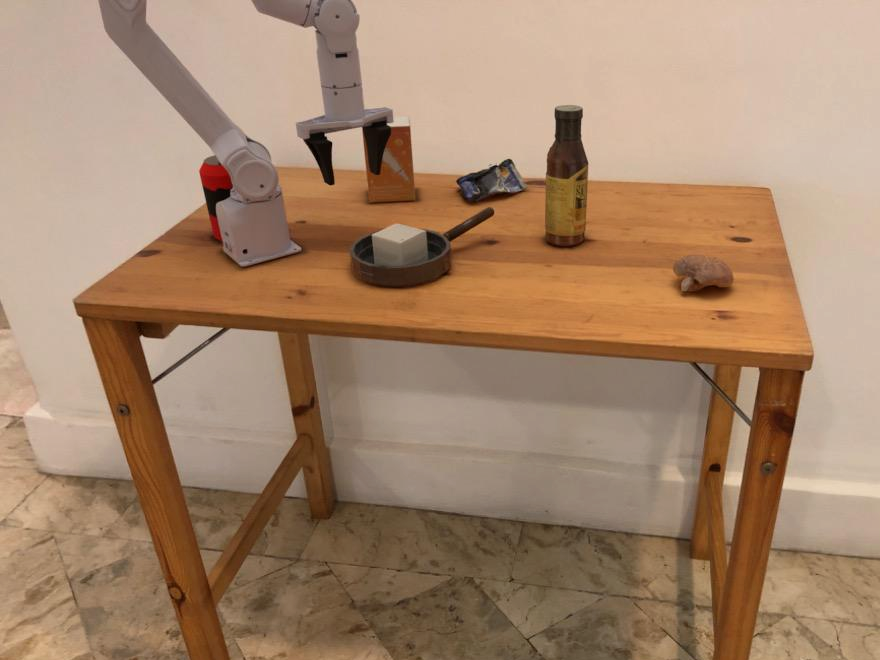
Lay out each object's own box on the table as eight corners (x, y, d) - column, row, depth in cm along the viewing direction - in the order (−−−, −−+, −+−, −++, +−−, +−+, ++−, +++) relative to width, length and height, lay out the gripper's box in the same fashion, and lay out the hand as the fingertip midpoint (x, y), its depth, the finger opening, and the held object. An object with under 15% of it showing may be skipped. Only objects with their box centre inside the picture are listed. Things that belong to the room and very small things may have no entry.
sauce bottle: (582, 249, 119) (588, 114, 108) (541, 246, 120) (543, 112, 109) (587, 233, 124) (593, 103, 114) (548, 230, 125) (550, 101, 115)
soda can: (216, 246, 121) (198, 169, 115) (212, 229, 127) (195, 155, 121) (266, 239, 124) (252, 163, 117) (260, 222, 130) (246, 149, 123)
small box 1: (369, 203, 136) (360, 127, 129) (369, 191, 142) (361, 117, 135) (416, 201, 137) (410, 125, 130) (415, 189, 143) (409, 115, 136)
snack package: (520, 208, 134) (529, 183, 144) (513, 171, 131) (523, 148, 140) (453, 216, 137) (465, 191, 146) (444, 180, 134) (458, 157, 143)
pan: (383, 298, 106) (381, 276, 104) (335, 263, 116) (332, 243, 114) (470, 270, 113) (469, 249, 111) (418, 240, 123) (416, 220, 121)
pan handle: (446, 244, 116) (445, 221, 115) (440, 241, 118) (439, 218, 116) (496, 229, 121) (496, 207, 119) (491, 227, 122) (490, 204, 120)
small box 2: (429, 261, 115) (427, 229, 112) (403, 275, 111) (400, 242, 108) (399, 252, 117) (396, 221, 115) (373, 266, 113) (369, 234, 111)
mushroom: (707, 307, 103) (749, 277, 105) (688, 265, 101) (731, 236, 104) (673, 309, 110) (714, 281, 112) (654, 270, 108) (696, 243, 111)
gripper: (305, 96, 105) (319, 195, 113) (400, 81, 112) (407, 175, 120) (284, 87, 110) (299, 182, 117) (376, 73, 117) (385, 164, 125)
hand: (352, 178), depth 119 cm, fingers open, 7 cm apart
